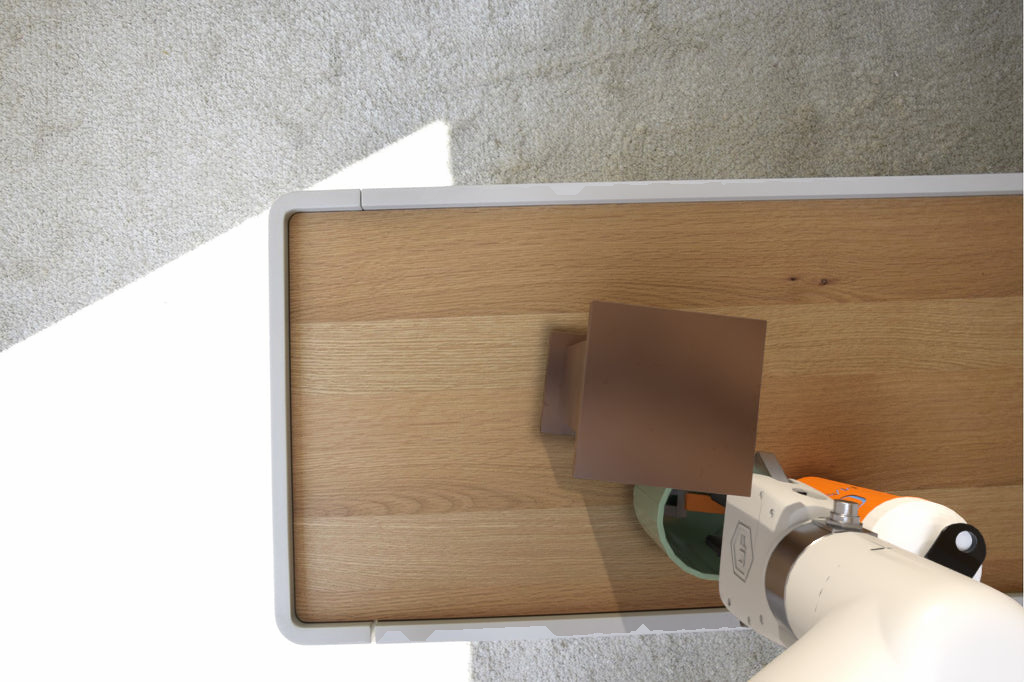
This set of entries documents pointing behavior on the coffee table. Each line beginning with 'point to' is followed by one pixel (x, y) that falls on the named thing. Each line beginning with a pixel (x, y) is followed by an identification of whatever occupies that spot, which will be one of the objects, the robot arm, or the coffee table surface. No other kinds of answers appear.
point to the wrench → (690, 504)
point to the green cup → (680, 532)
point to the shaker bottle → (914, 525)
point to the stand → (658, 397)
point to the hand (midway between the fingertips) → (725, 518)
